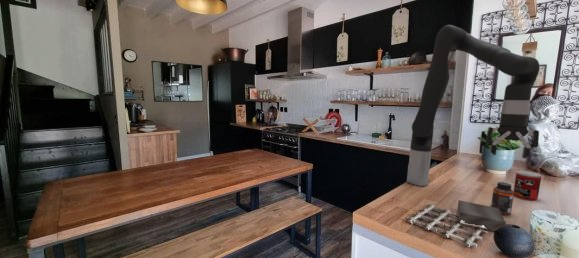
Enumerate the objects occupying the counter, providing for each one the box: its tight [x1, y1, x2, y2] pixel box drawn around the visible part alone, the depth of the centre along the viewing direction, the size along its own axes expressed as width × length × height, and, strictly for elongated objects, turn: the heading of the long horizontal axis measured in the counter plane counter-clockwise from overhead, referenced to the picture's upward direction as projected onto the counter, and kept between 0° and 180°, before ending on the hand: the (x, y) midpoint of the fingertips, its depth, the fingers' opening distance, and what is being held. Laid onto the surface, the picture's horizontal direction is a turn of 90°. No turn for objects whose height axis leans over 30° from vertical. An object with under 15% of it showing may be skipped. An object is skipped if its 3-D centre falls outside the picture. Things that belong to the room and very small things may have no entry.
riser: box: [457, 200, 507, 233], centre depth 86 cm, size 12×12×4 cm
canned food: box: [513, 170, 542, 201], centre depth 108 cm, size 8×8×11 cm
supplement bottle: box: [490, 181, 515, 216], centre depth 93 cm, size 6×6×11 cm
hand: (508, 156), depth 91 cm, fingers open, 8 cm apart
